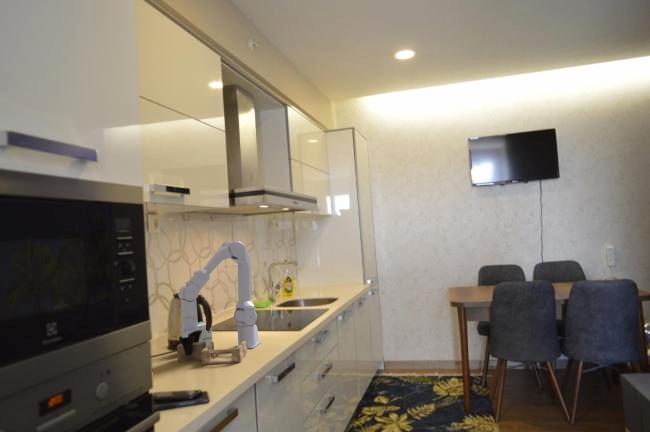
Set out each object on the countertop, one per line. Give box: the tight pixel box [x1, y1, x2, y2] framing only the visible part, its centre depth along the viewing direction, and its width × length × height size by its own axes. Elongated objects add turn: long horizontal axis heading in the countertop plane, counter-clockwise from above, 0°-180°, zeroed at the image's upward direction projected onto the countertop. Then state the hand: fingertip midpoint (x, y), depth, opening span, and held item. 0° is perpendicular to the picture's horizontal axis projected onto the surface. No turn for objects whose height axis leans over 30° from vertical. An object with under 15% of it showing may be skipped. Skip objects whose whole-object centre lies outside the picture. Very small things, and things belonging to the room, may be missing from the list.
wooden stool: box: [201, 340, 248, 366], centre depth 178 cm, size 14×14×5 cm
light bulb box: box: [180, 321, 214, 347], centre depth 196 cm, size 11×7×11 cm, turn 141°
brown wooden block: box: [176, 342, 206, 362], centre depth 181 cm, size 10×4×6 cm, turn 89°
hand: (191, 352), depth 181 cm, fingers open, 7 cm apart
